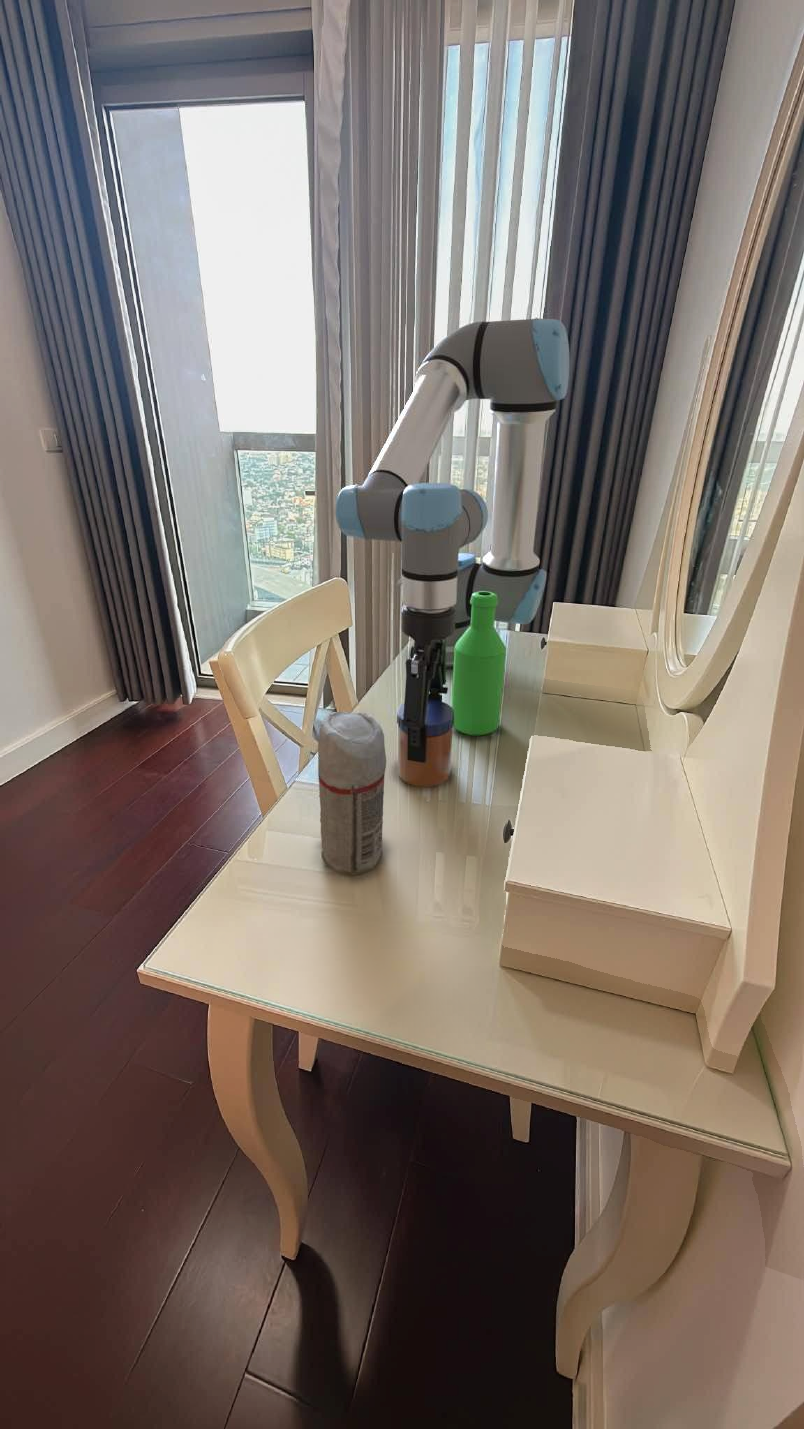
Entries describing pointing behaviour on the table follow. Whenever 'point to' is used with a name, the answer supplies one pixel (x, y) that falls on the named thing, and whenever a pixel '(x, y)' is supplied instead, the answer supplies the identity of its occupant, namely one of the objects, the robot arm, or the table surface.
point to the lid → (433, 718)
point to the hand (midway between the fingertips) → (424, 744)
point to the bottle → (478, 670)
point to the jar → (435, 765)
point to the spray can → (351, 791)
